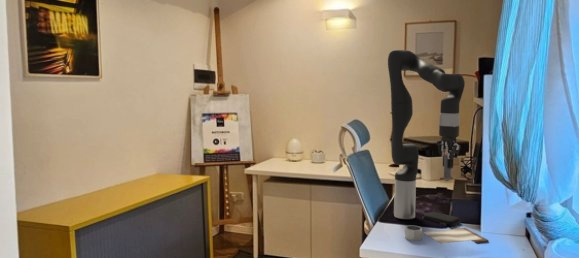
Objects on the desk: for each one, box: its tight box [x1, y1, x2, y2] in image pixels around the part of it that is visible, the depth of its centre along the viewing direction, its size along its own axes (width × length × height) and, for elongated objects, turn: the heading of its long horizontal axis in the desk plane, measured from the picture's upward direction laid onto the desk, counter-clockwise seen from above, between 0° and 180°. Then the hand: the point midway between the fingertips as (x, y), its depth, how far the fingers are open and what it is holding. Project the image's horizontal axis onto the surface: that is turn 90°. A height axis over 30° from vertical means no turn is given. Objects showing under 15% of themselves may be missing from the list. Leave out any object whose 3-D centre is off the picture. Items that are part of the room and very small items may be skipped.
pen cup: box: [404, 224, 423, 242], centre depth 178 cm, size 6×6×5 cm
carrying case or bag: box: [421, 211, 462, 228], centre depth 200 cm, size 11×3×15 cm
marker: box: [443, 151, 452, 182], centre depth 184 cm, size 3×3×12 cm
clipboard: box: [422, 227, 489, 244], centre depth 181 cm, size 15×22×1 cm
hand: (447, 167), depth 184 cm, fingers closed on marker, 2 cm apart
